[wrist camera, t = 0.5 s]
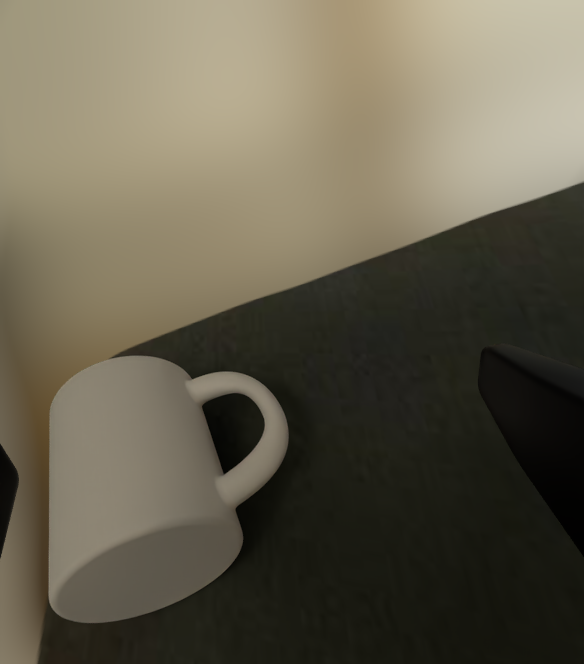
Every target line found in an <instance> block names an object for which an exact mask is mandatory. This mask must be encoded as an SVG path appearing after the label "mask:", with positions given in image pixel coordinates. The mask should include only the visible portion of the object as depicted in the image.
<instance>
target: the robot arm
mask: <svg viewBox="0 0 584 664" xmlns="http://www.w3.org/2000/svg"><path fill="white" fill-rule="evenodd" d="M478 387H479V391H480V394H481V396H482V398H483V400H484V401H485V403H486V405H487V407H488V409H489V411H490V412H491V414H492V416H493V418H494V420H495V422H496V423H497V425H498V427H499V429H500V431H501V433H502V434H503V436H504V438H505V440H506V442H507V444H508V445H509V447H510V449H511V451H512V453H513V454H514V456H515V458H516V459H517V461H518V463H519V464H520V466H521V467H522V469H523V470H524V472H525V473H526V475H527V476H528V477H529V479H530V480H531V482H532V483H533V485H534V486H535V487H536V489H537V490H538V492H539V493H540V495H541V496H542V498H543V499H544V500H545V502H546V503H547V505H548V506H549V508H550V509H551V511H552V512H553V513H554V515H555V516H556V518H557V519H558V521H559V522H560V523H561V525H562V526H563V528H564V529H565V531H566V532H567V534H568V535H569V536H570V538H571V539H572V541H573V542H574V544H575V545H576V547H577V548H578V549H579V551H580V552H581V554H582V555H583V557H584V369H582V368H579V367H576V366H573V365H570V364H567V363H564V362H561V361H558V360H555V359H552V358H549V357H546V356H543V355H540V354H537V353H534V352H531V351H528V350H525V349H522V348H519V347H516V346H513V345H510V344H506V343H502V344H497V345H492V346H487V347H485V348H484V349H483V350H482V352H481V359H480V368H479V376H478ZM18 483H19V477H18V473H17V470H16V468H15V466H14V465H13V463H12V462H11V460H10V458H9V457H8V455H7V454H6V452H5V451H4V449H3V447H2V446H1V444H0V557H1V554H2V550H3V546H4V542H5V537H6V533H7V529H8V525H9V521H10V517H11V513H12V509H13V505H14V500H15V496H16V492H17V488H18Z"/></svg>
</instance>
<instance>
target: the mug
mask: <svg viewBox="0 0 584 664" xmlns="http://www.w3.org/2000/svg"><path fill="white" fill-rule="evenodd" d="M231 393H240V394H244V395H246V396H248V397H250V398H251V399H252V400H253V401H254V402H255V403H256V404H257V406H258V407H259V409H260V410H261V412H262V414H263V417H264V421H265V428H264V433H263V435H262V437H261V439H260V441H259V443H258V444H257V446H256V447H255V448H254V450H253V451H252V452H251V453H250V454H249V455H248V456H247V457H246V458H245V459H244V460H243V461H242V462H240V463H239V464H238V465H237V466H236V467H234V468H233V469H232V470H230V471H229V472H227V473H226V474H225V475H224V474H223V471H222V468H221V465H220V461H219V458H218V455H217V452H216V449H215V446H214V443H213V440H212V437H211V434H210V431H209V428H208V425H207V421H206V418H205V415H204V412H203V409H202V405H203V404H204V403H205V402H207V401H209V400H212V399H214V398H216V397H219V396H222V395H226V394H231ZM288 437H289V435H288V425H287V421H286V417H285V415H284V412H283V410H282V408H281V406H280V404H279V402H278V401H277V399H276V398H275V396H274V395H273V394H272V393H271V392H270V390H269V389H268V388H267V387H265V386H264V385H263V384H262V383H260V382H259V381H257V380H256V379H254V378H252V377H250V376H247V375H245V374H241V373H236V372H216V373H211V374H207V375H203V376H200V377H198V378H195V379H193V380H192V379H191V377H190V376H189V375H188V374H187V373H186V372H185V371H184V370H183V369H182V368H180V367H179V366H177V365H176V364H174V363H172V362H169V361H167V360H164V359H160V358H155V357H149V356H125V357H118V358H113V359H109V360H105V361H102V362H100V363H97V364H94V365H92V366H90V367H88V368H86V369H84V370H82V371H80V372H79V373H77V374H76V375H74V376H73V377H72V378H70V379H69V380H68V381H67V382H66V383H65V384H64V385H63V386H62V387H61V388H60V389H59V391H58V392H57V394H56V395H55V397H54V399H53V402H52V404H51V408H50V451H49V453H50V454H49V455H50V456H49V458H50V460H49V470H50V471H49V602H50V605H51V607H52V609H53V610H54V611H55V612H56V613H57V614H58V615H60V616H61V617H63V618H65V619H68V620H71V621H76V622H83V623H101V622H111V621H118V620H123V619H128V618H132V617H136V616H140V615H143V614H147V613H150V612H153V611H156V610H158V609H161V608H164V607H166V606H168V605H171V604H173V603H175V602H178V601H180V600H182V599H184V598H186V597H188V596H190V595H191V594H193V593H195V592H197V591H198V590H200V589H202V588H203V587H205V586H206V585H208V584H209V583H211V582H212V581H213V580H215V579H216V578H217V577H219V576H220V575H221V574H222V573H223V572H224V571H225V570H226V569H227V568H228V567H229V566H230V565H231V564H232V563H233V562H234V560H235V559H236V557H237V556H238V554H239V552H240V550H241V547H242V544H243V533H242V529H241V526H240V523H239V520H238V517H237V514H236V511H235V509H236V507H237V506H238V505H239V504H241V503H242V502H244V501H245V500H247V499H248V498H249V497H251V496H252V495H253V494H254V493H256V492H257V491H258V490H259V489H260V488H261V487H263V486H264V485H265V484H266V483H267V482H268V481H269V480H270V478H271V477H272V476H273V475H274V474H275V472H276V471H277V469H278V468H279V466H280V465H281V463H282V461H283V459H284V456H285V454H286V450H287V446H288Z"/></svg>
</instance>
